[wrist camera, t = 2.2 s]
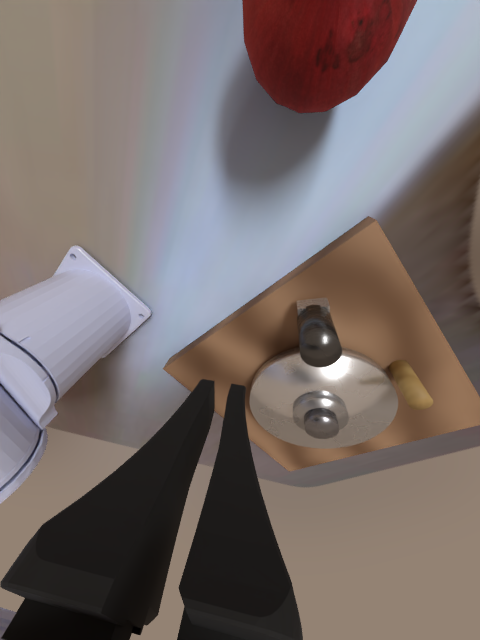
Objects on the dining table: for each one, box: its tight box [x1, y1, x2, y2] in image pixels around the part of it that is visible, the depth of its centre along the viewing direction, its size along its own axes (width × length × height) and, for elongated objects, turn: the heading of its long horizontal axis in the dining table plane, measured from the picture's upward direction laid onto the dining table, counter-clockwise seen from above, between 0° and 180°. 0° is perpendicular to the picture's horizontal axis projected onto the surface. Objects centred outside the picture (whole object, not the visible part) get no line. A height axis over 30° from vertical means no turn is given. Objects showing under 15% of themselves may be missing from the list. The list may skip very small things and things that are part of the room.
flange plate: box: [250, 298, 398, 449], centre depth 18 cm, size 16×12×4 cm
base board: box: [163, 216, 480, 471], centre depth 20 cm, size 21×21×5 cm
